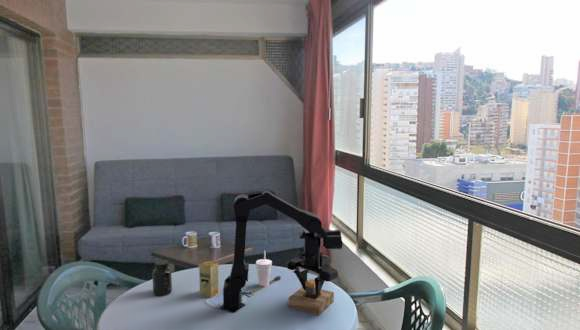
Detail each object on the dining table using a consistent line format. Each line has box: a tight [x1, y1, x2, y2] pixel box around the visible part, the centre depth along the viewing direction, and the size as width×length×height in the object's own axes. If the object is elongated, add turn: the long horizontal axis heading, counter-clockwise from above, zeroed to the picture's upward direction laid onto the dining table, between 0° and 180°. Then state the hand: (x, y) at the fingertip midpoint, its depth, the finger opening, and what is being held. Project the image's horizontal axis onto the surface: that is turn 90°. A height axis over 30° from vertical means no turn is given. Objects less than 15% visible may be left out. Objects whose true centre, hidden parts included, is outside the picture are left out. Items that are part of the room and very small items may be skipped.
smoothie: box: [255, 250, 273, 288], centre depth 162 cm, size 6×6×14 cm
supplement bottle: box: [152, 259, 173, 297], centre depth 155 cm, size 7×7×12 cm
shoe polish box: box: [198, 260, 219, 299], centre depth 154 cm, size 5×5×12 cm
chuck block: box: [288, 286, 335, 316], centre depth 147 cm, size 12×12×4 cm
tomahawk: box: [242, 275, 282, 298], centre depth 161 cm, size 21×7×1 cm, turn 141°
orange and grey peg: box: [305, 278, 317, 299], centre depth 147 cm, size 3×3×8 cm
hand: (311, 292), depth 147 cm, fingers open, 5 cm apart
